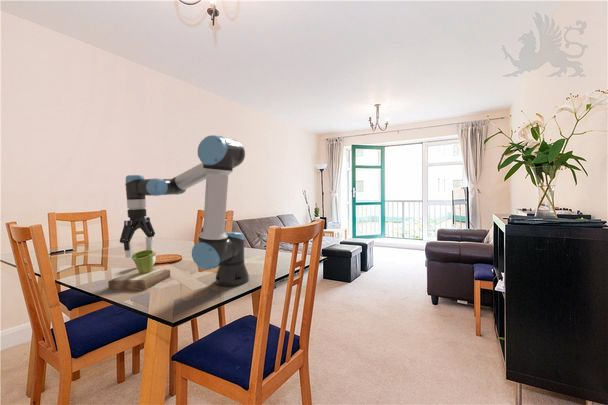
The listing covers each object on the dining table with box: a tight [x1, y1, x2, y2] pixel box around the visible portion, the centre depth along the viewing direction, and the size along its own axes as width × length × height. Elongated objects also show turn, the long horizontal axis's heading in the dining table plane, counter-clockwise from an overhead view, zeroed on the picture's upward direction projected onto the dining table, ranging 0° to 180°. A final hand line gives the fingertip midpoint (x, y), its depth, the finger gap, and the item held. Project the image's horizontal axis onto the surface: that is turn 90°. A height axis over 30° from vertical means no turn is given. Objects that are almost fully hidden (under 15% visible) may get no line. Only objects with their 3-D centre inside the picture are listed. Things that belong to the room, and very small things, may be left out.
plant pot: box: [130, 249, 154, 273], centre depth 136 cm, size 9×9×9 cm
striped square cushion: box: [107, 268, 171, 291], centre depth 134 cm, size 18×18×4 cm
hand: (139, 253), depth 133 cm, fingers open, 13 cm apart
